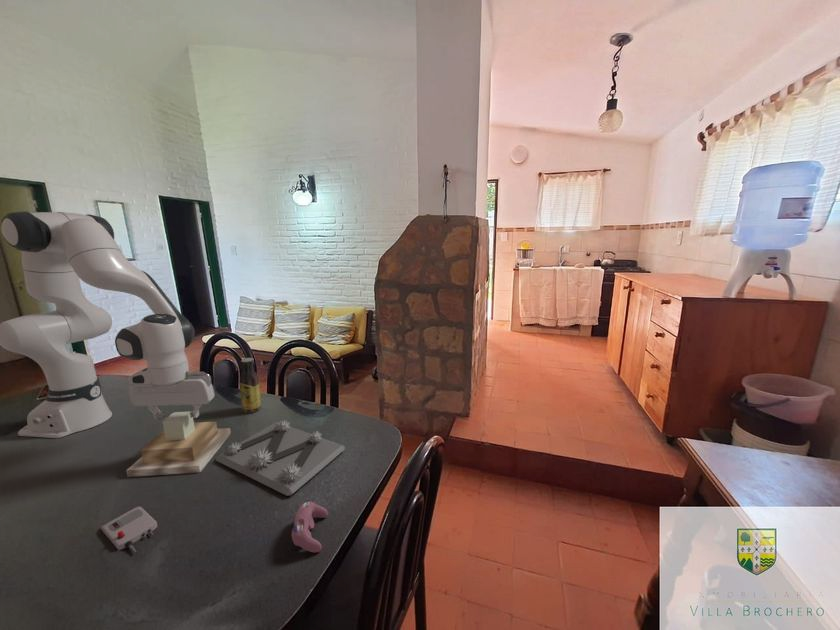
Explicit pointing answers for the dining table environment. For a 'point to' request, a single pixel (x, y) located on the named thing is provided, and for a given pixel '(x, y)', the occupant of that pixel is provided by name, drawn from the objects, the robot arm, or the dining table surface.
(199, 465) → the stacking base
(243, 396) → the sauce bottle
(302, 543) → the video game controller
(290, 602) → the dining table surface
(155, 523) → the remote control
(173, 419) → the sage block
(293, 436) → the decorative plate
